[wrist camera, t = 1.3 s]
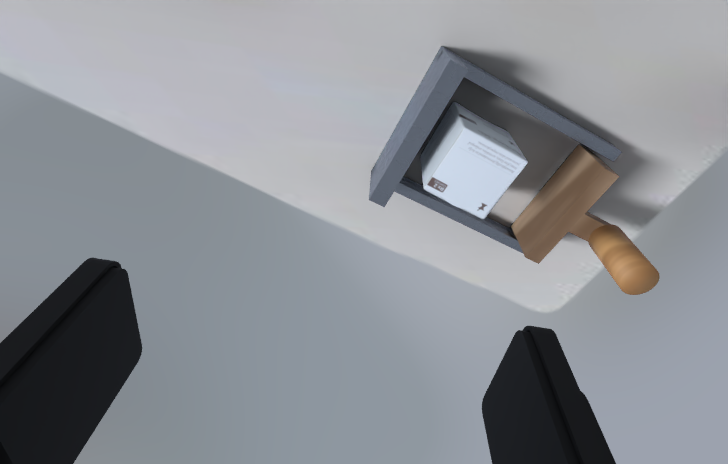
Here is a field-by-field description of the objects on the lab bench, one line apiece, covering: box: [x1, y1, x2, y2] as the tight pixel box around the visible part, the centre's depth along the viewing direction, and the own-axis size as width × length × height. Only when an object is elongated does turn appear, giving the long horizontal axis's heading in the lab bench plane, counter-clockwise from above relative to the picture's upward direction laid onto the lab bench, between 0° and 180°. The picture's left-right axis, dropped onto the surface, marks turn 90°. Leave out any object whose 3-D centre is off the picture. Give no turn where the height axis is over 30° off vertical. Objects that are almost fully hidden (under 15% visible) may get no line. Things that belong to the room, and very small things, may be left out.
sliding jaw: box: [511, 144, 659, 295], centre depth 37 cm, size 6×10×12 cm, turn 153°
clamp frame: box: [369, 46, 622, 254], centre depth 37 cm, size 18×13×6 cm
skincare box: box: [420, 102, 528, 219], centre depth 36 cm, size 6×6×7 cm
